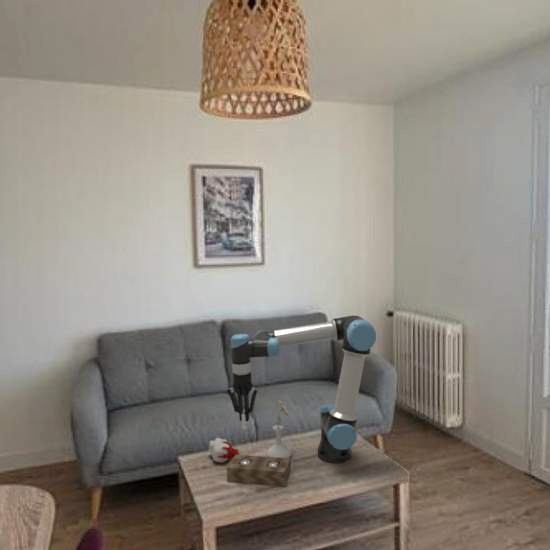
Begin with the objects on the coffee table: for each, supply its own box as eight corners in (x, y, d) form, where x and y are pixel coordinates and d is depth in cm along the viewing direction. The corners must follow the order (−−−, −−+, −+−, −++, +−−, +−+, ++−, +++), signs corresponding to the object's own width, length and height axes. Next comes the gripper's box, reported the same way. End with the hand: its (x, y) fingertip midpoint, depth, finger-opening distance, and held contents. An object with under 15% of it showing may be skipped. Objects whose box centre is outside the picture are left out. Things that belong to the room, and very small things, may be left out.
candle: (208, 453, 230) (241, 457, 228) (202, 464, 219) (236, 469, 217) (210, 434, 229) (242, 438, 228) (204, 444, 218) (238, 449, 216)
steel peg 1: (251, 472, 210) (251, 459, 209) (248, 476, 206) (248, 464, 206) (242, 471, 211) (242, 458, 210) (239, 476, 207) (239, 463, 206)
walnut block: (291, 472, 210) (290, 458, 210) (284, 486, 198) (284, 472, 198) (236, 467, 216) (235, 454, 215) (227, 481, 204) (226, 467, 204)
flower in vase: (287, 464, 218) (286, 408, 215) (263, 461, 221) (261, 406, 219) (296, 451, 230) (294, 398, 228) (272, 448, 233) (270, 396, 231)
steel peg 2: (279, 474, 207) (279, 461, 207) (277, 479, 203) (276, 466, 203) (270, 473, 208) (269, 461, 208) (267, 478, 204) (267, 465, 204)
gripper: (259, 370, 207) (262, 425, 209) (229, 369, 210) (232, 424, 212) (254, 375, 200) (257, 432, 202) (223, 374, 203) (227, 431, 205)
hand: (245, 428), depth 207 cm, fingers closed
